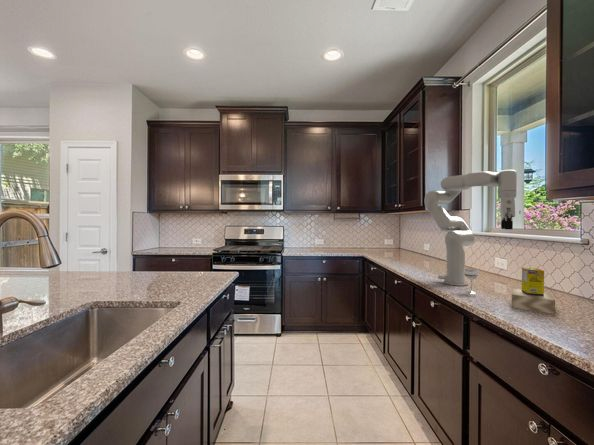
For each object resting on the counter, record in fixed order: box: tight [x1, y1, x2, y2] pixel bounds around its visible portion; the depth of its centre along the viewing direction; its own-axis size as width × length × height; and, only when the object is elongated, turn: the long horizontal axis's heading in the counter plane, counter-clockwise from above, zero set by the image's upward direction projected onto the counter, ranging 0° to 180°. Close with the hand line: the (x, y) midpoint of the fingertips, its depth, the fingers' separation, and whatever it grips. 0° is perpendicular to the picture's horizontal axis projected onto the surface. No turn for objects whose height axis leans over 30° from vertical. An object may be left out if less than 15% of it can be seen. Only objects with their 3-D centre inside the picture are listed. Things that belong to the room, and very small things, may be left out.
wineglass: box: [464, 268, 480, 295], centre depth 149 cm, size 7×7×12 cm
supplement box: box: [521, 267, 545, 296], centre depth 124 cm, size 6×6×11 cm
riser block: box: [511, 288, 556, 315], centre depth 125 cm, size 14×14×6 cm
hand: (506, 229), depth 143 cm, fingers open, 9 cm apart
